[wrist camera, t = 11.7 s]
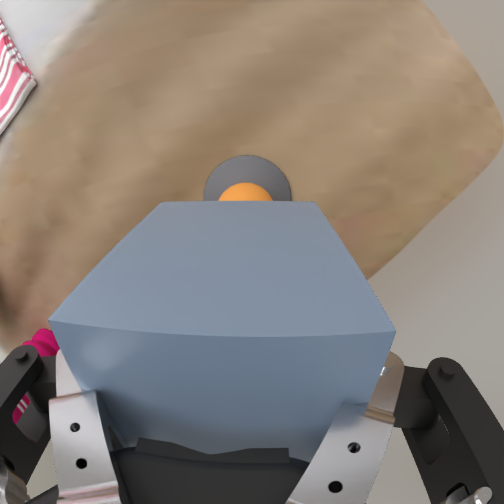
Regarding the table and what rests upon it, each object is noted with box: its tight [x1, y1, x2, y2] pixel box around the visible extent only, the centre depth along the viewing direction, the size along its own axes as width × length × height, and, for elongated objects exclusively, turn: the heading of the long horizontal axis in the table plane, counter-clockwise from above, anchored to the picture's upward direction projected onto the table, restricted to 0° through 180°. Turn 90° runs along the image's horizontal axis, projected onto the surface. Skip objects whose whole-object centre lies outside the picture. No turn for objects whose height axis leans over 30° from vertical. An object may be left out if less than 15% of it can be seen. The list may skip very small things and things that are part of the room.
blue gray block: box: [48, 201, 396, 463], centre depth 10 cm, size 7×7×9 cm
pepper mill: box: [13, 329, 60, 424], centre depth 27 cm, size 7×7×20 cm
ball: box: [218, 183, 273, 201], centre depth 26 cm, size 5×5×5 cm
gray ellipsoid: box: [204, 155, 291, 201], centre depth 27 cm, size 8×8×1 cm
